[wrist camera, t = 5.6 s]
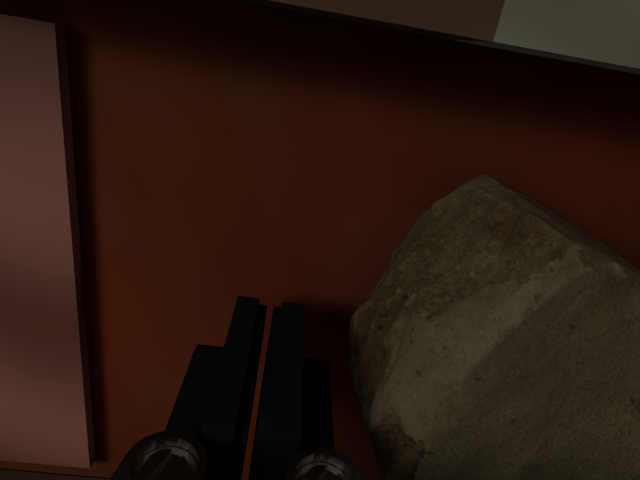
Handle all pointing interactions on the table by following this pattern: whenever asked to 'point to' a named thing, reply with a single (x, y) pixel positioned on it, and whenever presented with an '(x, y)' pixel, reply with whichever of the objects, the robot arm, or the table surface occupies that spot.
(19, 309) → the frame
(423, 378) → the stone block
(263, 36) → the table surface
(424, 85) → the table surface
